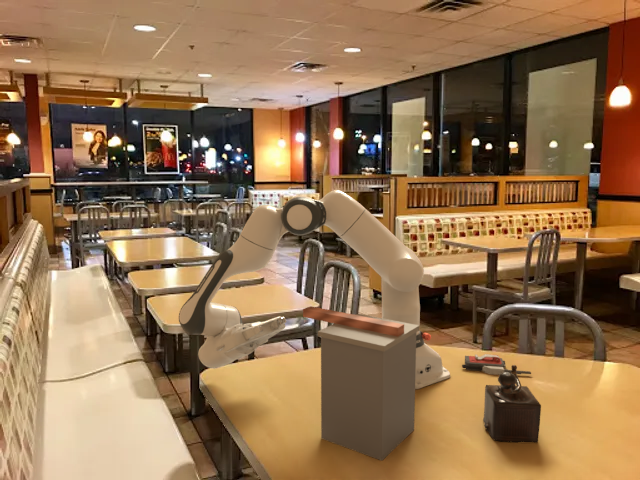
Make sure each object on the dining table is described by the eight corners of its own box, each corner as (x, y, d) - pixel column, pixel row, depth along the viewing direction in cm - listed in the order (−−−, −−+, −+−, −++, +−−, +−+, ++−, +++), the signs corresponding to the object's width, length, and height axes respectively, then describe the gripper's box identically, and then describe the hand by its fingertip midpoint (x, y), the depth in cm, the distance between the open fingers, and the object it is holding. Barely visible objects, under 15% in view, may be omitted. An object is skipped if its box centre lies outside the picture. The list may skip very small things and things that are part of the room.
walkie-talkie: (462, 373, 160) (531, 378, 156) (462, 359, 159) (532, 364, 155) (460, 363, 169) (526, 367, 165) (461, 350, 168) (527, 354, 164)
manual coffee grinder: (479, 419, 131) (482, 350, 128) (525, 420, 130) (529, 351, 127) (496, 453, 115) (500, 376, 113) (548, 455, 115) (552, 377, 112)
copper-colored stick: (303, 316, 129) (303, 309, 129) (310, 314, 132) (310, 306, 131) (397, 336, 114) (397, 327, 114) (404, 332, 117) (404, 324, 116)
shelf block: (318, 438, 122) (317, 331, 118) (356, 410, 135) (357, 313, 132) (382, 462, 112) (384, 346, 108) (416, 429, 126) (419, 325, 122)
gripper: (207, 340, 138) (239, 322, 130) (260, 321, 154) (291, 304, 146) (216, 362, 137) (249, 346, 129) (268, 341, 153) (300, 325, 145)
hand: (272, 324), depth 138 cm, fingers open, 8 cm apart
